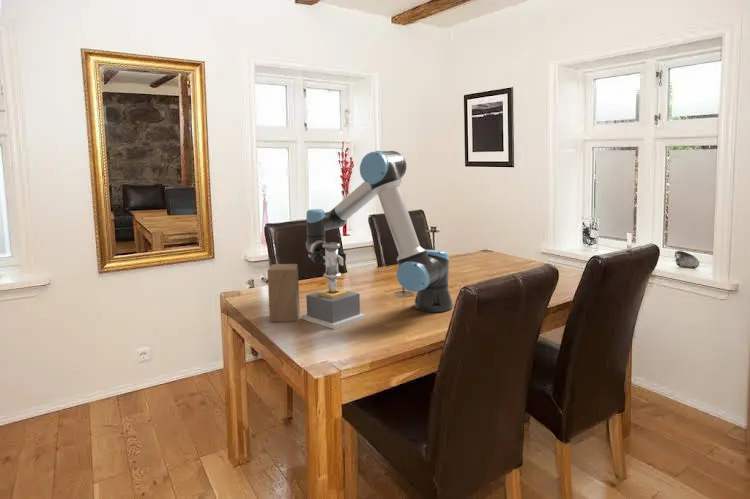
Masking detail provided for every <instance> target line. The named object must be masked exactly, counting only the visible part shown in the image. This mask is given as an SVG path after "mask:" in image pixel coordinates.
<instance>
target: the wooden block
mask: <svg viewBox="0 0 750 499" xmlns="http://www.w3.org/2000/svg"><path fill="white" fill-rule="evenodd" d="M267 287H268V302H269V321H270V323H283V322H284V323H289V322H294V323H295V322H297V321H298V320H299V316H300V314H301V310H300V309H301V308H300V288H299V265H298V264H297V263H279V264H278V263H277V264H276V263H275V264H274V263H273V264H271V265H270V266H269V267H268V269H267Z"/></svg>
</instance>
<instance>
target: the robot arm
mask: <svg viewBox="0 0 750 499" xmlns="http://www.w3.org/2000/svg"><path fill="white" fill-rule="evenodd" d="M406 170H407V161H406V159H405V157H404V156H403V154H401V153H400V152H398V151H395V150H383V151H382V150H375V151H371V152H368V153H367V154H365V155H364V156H363V158H362V159H361V161H360V164H359V174H360V177H361V178H362V180H363V182H362V183H360V184H359V186H357V187H356V188H355V189H354V190H352V192H350V193H349V194H348V195H347V196H346V197H345V198H344V199H342V200H341V201H340V202H339V203H338V204H337V205H336V206H335V207H333V208H332V209H331V210H330V211H326V212H325V210H324V209H322V208H315V209H311V208H310V209H308V210H307V211H306V219H305V221H306V242H305V248H306V250H307V254H308V259H309V260H311V261H312V262H313V264H318V263H319V265H320V266H323V265H324V266H325V267H326V266H327V267H329V259H328V258H327V257H326V256H325V248H323V244H324V243H327V242H326V231H329V230H333V229H340V228H341V227H344V226H345V225H346V224H347V221H348V220H349V219H350V218H352V216H353V215H354V214H356V213H357V212H358V211H359V210H360V209H362V208H363V207H365V205H367V204H368V203H369V202H370V201H371V200H373V199H374V198H375V197H376V196H378V199H379V202H380V205H381V207H382V210H383V213H384V216H385V218H386V219H385V220H386V222H387V224H388V228H389V230H390V233H391V235H392V238H393V242H394V244H395V247H396V249H397V253H398V256H397V257H396V261H397V266H398V268H397V271H396V278H397V281H398V283H399V285H400V286H401V287H402V288H403V289H405V290H407V291H409V292H413V293H414V292H417V293H416V296H415V299H414V308H415V309H416V310H419V311H422V312H426V313H427V312H428V313H443V312H447V311H450V310H451V309H452V308H454V306H453V305H454V304H453V299H452V297H451V292H450V290H449V269H450V268H449V264H450V258H449V253H448V252H447V251H445V250H438V249H425V248H423V247H422V246H421V245H420V242H419V239H418V236H417V233H416V230H415V227H414V224H413V221H412V219H411V216H410V213H409V210H408V207H407V204H406V202H405V199H404V196H403V193H402V190H401V187H400V186H401V183H402V178H403V177H404V175H405V174H406ZM346 261H347V255H346V253H345V252H344V251H343V250H342V249H338V265H340V266H341V267H342V266H344V265H345V264H344V262H346Z"/></svg>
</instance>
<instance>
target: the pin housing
mask: <svg viewBox="0 0 750 499" xmlns="http://www.w3.org/2000/svg"><path fill="white" fill-rule="evenodd" d="M305 297H306V313H305V314H302V315H301V320H303V321H307V322H310V323H313V324H317V325H320V326H324V327H326V328H330V329H332V330H336V329H340V328H343V327H346V326H348V325H351V324H354V323H356V322H359V321H362V320H365V319H366V318H367V317H366V316H367V315H366V314H365V313H361V304H360V302H361V300H360V297H361V296H360V292H354V291H350V290H345V289H342V288H337V293H334V294H331V293H329V288H327V289H324V290H320V291H316V292H313V293H309V294H306V296H305Z"/></svg>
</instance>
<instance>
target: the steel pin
mask: <svg viewBox="0 0 750 499" xmlns="http://www.w3.org/2000/svg"><path fill="white" fill-rule="evenodd" d="M323 248H325V256H326V257H327V258H328V259H329V267H327V266H326V265H325V272H324V273H323V278H324V279H327V280H328V289H329V293H331V294H334V293H337V289H338V288H337V287H338V286H337V279H339V278H342V273H341V272H340V271H339V263H338V251H339V248H341V243H340V242H335V241H334V242H326V243H324V244H323Z"/></svg>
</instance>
